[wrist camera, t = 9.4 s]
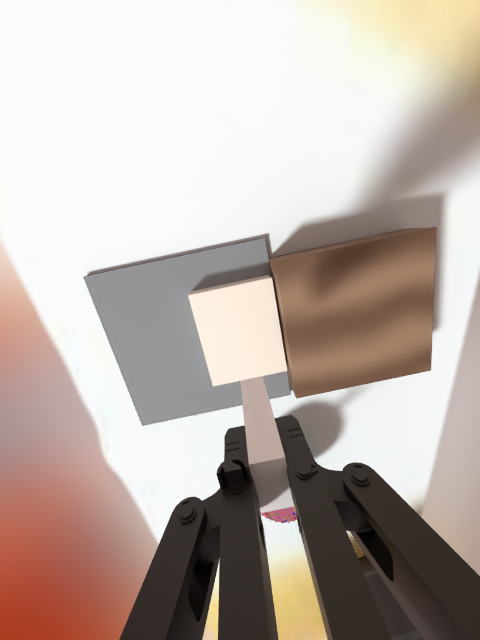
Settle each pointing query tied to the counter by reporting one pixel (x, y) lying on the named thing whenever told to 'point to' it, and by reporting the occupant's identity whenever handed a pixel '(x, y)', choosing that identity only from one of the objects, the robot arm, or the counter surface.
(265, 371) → the cream rectangular block
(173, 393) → the mat
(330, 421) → the counter surface
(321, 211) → the counter surface
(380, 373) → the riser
